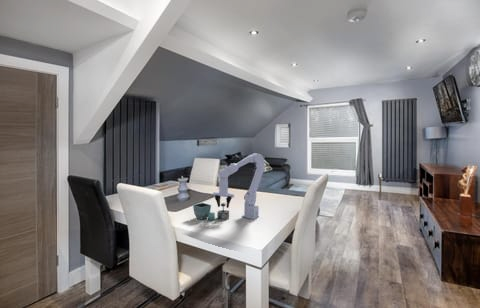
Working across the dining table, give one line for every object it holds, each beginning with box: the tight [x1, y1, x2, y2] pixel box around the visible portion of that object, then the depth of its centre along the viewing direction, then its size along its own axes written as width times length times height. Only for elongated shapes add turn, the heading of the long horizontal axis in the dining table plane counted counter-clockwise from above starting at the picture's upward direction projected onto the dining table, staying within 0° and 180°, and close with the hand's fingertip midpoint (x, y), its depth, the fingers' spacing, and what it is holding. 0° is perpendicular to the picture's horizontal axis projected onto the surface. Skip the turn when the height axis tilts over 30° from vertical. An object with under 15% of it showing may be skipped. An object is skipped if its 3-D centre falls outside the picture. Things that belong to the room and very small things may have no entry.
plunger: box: [220, 202, 227, 212], centre depth 160 cm, size 3×3×6 cm
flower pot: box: [192, 202, 212, 220], centre depth 160 cm, size 9×9×9 cm
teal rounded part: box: [207, 211, 216, 222], centre depth 157 cm, size 5×5×4 cm
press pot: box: [216, 209, 230, 221], centre depth 161 cm, size 8×9×4 cm
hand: (223, 207), depth 160 cm, fingers open, 6 cm apart
